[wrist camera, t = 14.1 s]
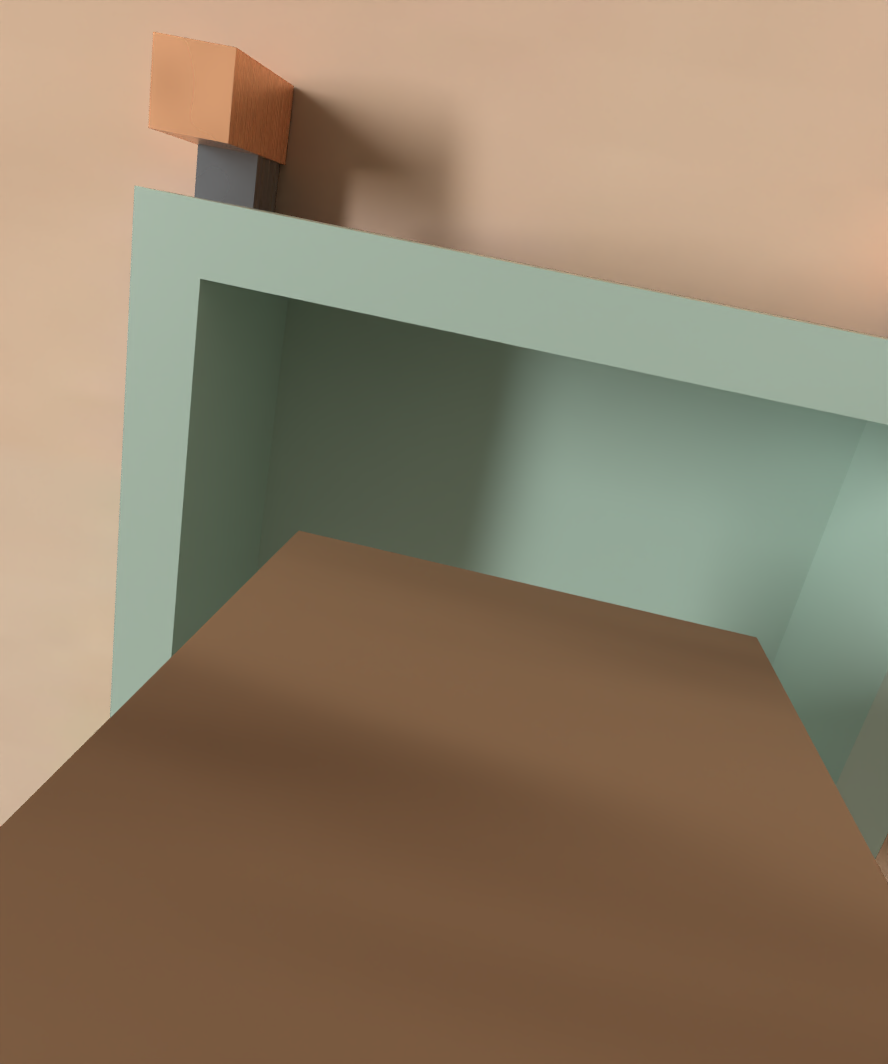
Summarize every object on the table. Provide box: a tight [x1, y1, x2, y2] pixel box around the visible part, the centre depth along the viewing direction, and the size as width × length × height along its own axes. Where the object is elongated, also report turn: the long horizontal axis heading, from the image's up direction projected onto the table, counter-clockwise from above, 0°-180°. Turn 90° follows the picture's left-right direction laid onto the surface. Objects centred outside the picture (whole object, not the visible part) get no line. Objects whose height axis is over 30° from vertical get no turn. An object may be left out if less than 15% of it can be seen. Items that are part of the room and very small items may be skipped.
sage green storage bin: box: [110, 186, 888, 859], centre depth 12 cm, size 10×10×5 cm
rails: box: [148, 32, 294, 213], centre depth 15 cm, size 20×13×2 cm, turn 169°
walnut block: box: [0, 531, 888, 1064], centre depth 5 cm, size 4×4×6 cm
